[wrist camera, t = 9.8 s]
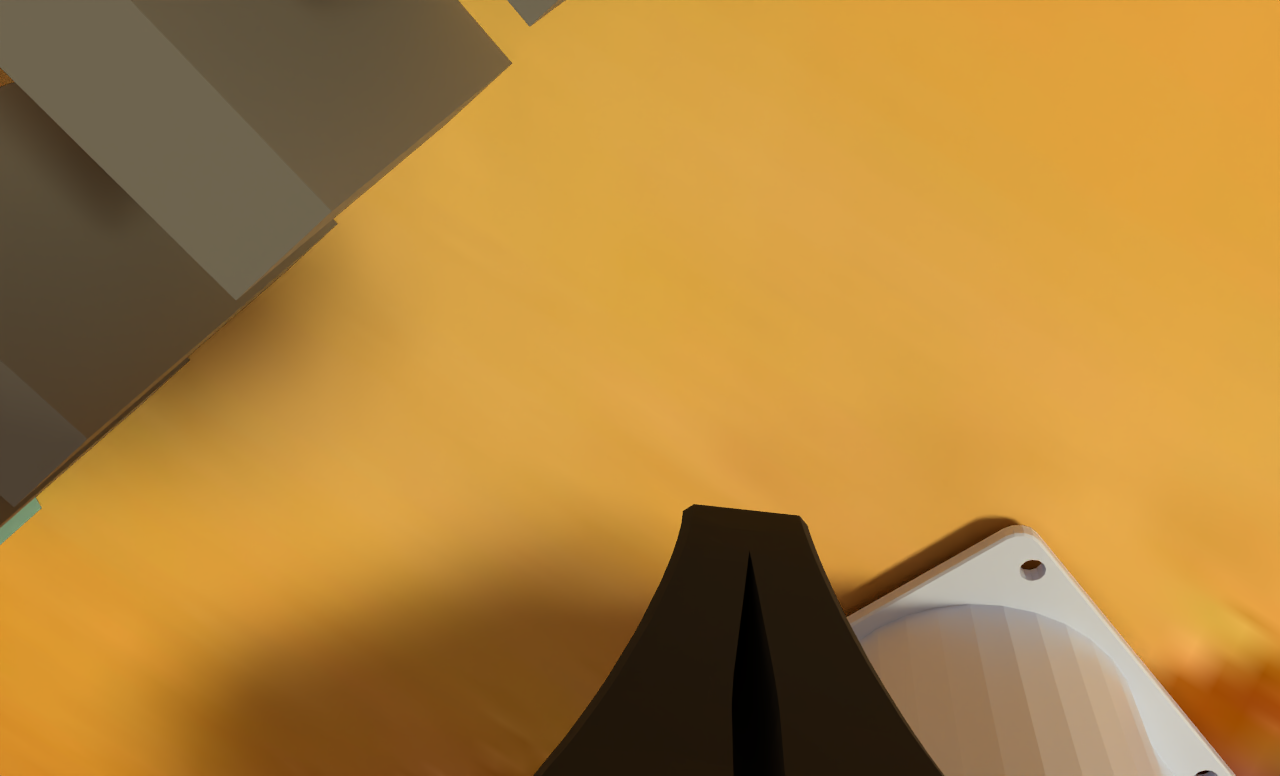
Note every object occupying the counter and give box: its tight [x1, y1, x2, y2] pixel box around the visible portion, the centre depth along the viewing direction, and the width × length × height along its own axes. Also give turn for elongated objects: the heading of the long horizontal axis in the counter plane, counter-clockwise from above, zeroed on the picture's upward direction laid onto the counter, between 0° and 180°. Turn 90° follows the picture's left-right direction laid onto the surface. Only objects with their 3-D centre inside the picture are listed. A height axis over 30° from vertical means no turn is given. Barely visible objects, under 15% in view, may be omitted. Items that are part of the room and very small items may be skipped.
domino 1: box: [0, 0, 512, 300], centre depth 17 cm, size 2×5×9 cm, turn 41°
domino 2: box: [0, 82, 337, 507], centre depth 19 cm, size 2×5×9 cm, turn 41°
